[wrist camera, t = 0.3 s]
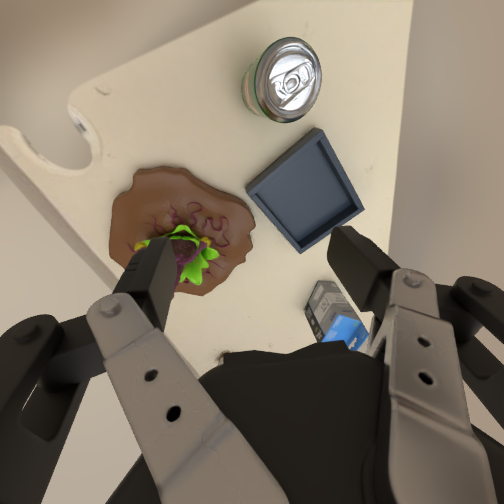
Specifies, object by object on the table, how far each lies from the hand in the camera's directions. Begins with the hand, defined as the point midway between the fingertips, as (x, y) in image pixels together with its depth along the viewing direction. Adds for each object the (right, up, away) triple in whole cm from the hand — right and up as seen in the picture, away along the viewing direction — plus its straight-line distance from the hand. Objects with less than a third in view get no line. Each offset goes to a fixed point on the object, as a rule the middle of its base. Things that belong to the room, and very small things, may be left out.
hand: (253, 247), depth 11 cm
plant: (-11, +2, +24) cm, 26 cm away
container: (+8, +8, +22) cm, 25 cm away
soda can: (+1, +18, +14) cm, 23 cm away
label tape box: (+14, -9, +35) cm, 39 cm away
